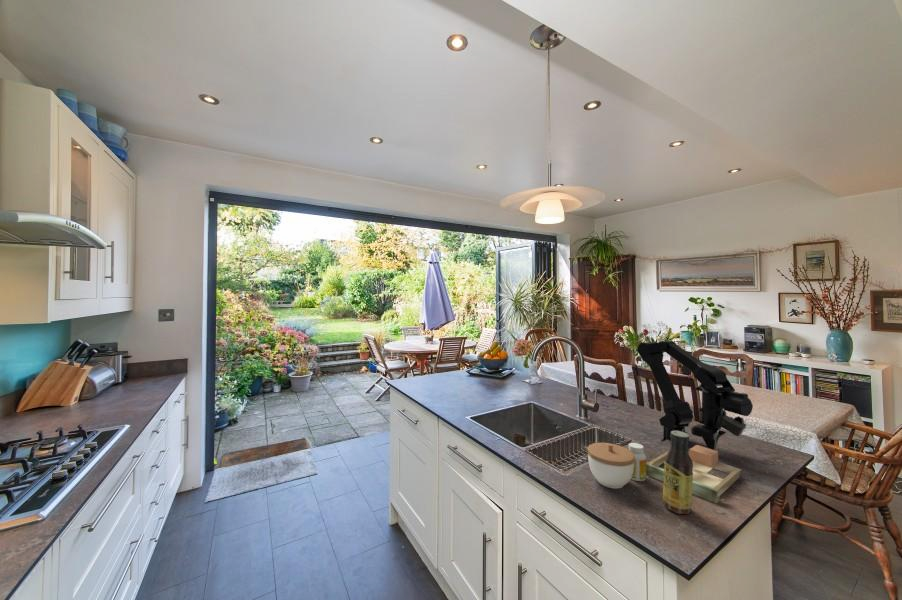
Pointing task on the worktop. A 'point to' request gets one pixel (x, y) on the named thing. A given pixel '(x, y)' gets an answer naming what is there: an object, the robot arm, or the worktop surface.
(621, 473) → the lidded bowl
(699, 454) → the block
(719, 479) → the box
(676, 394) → the robot arm
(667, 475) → the sauce bottle
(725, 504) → the worktop surface
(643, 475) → the supplement bottle
